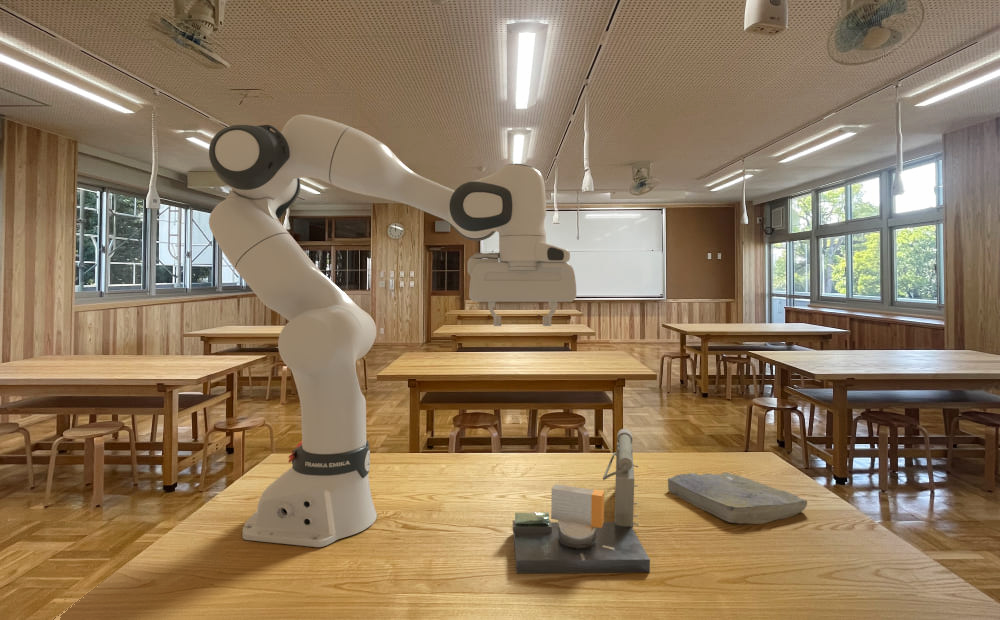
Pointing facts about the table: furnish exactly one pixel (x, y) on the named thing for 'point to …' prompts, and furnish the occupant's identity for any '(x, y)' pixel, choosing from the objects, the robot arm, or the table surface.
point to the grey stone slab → (735, 497)
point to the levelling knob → (577, 514)
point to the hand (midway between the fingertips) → (522, 325)
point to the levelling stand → (575, 549)
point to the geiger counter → (623, 479)
